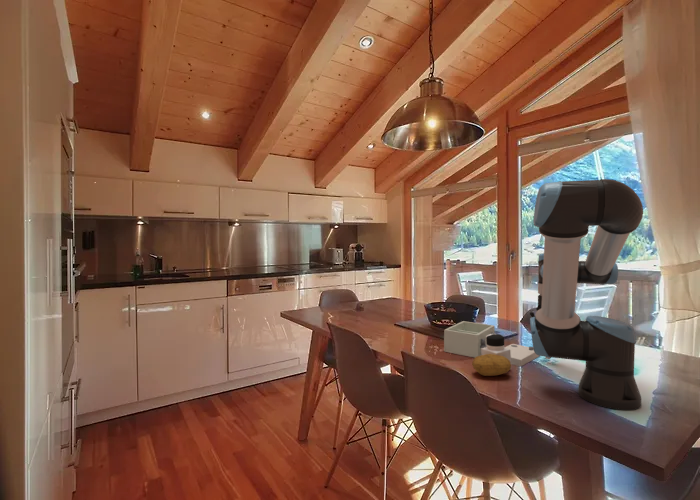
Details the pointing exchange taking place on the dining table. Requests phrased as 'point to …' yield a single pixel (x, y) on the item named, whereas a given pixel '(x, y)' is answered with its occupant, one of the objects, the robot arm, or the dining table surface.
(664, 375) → the dining table surface
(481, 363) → the potato
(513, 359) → the white flat block
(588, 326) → the robot arm
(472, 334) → the open box
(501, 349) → the medicine bottle
